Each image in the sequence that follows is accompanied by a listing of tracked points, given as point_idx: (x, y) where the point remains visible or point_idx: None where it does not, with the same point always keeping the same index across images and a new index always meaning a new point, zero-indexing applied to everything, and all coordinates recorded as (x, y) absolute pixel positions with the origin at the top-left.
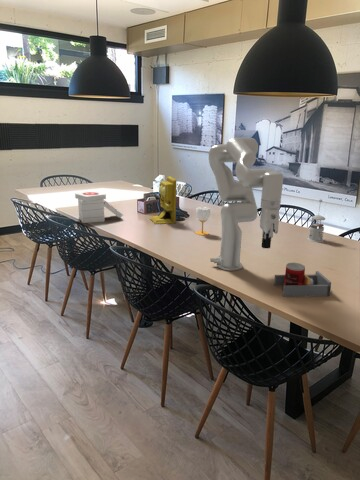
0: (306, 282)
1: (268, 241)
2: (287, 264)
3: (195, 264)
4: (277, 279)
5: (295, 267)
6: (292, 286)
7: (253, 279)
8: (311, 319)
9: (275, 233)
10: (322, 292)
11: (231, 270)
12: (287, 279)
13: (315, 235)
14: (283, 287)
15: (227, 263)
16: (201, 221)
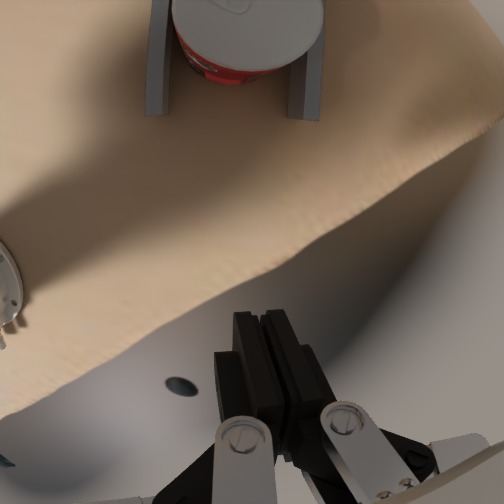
0: None
1: (327, 399)
2: (210, 51)
3: (9, 373)
4: (165, 102)
5: (267, 13)
6: (321, 79)
7: (93, 203)
8: (460, 115)
9: (486, 451)
10: None
11: (21, 281)
12: (259, 76)
13: None
14: (301, 119)
15: (2, 307)
16: None
